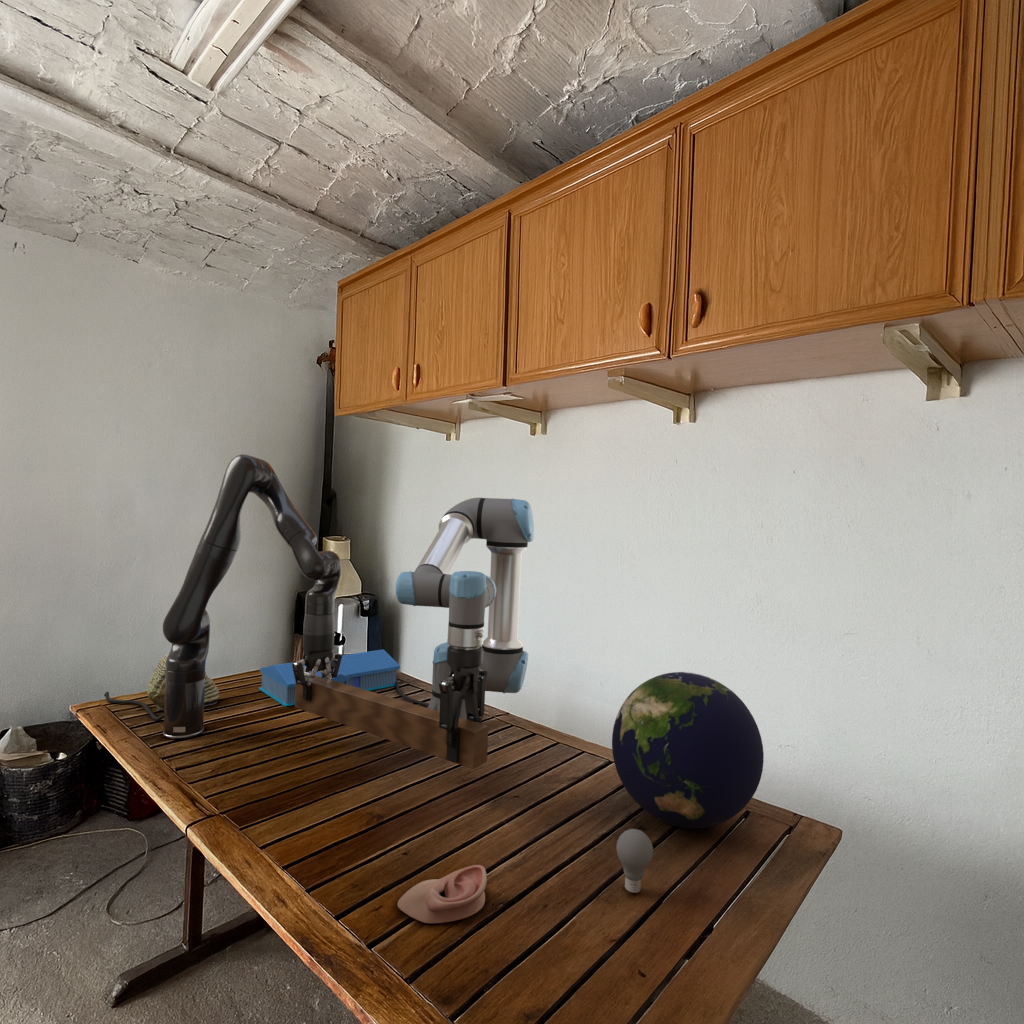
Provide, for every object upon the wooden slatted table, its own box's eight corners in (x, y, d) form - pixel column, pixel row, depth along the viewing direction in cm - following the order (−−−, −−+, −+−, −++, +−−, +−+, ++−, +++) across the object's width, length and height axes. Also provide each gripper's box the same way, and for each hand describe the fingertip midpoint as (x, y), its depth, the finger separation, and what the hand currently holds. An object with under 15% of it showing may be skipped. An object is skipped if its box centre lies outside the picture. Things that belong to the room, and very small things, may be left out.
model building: (289, 709, 186) (291, 675, 185) (258, 688, 204) (259, 657, 204) (403, 687, 212) (405, 657, 212) (366, 670, 230) (368, 643, 230)
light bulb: (610, 879, 108) (613, 822, 108) (644, 879, 109) (647, 822, 109) (619, 902, 102) (622, 840, 102) (655, 901, 103) (658, 840, 103)
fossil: (144, 707, 182) (145, 655, 182) (212, 696, 194) (213, 647, 194) (151, 716, 175) (153, 662, 175) (221, 703, 188) (223, 653, 188)
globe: (592, 836, 122) (599, 682, 122) (625, 776, 150) (631, 650, 149) (758, 877, 111) (767, 707, 110) (760, 804, 139) (767, 668, 138)
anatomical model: (390, 891, 96) (416, 850, 108) (389, 917, 96) (415, 874, 108) (474, 906, 94) (492, 863, 105) (473, 932, 94) (491, 887, 105)
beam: (294, 707, 160) (295, 677, 160) (309, 703, 164) (310, 673, 164) (473, 769, 128) (474, 732, 128) (487, 762, 132) (488, 725, 132)
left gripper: (304, 637, 151) (301, 708, 151) (351, 628, 163) (348, 694, 163) (285, 632, 155) (282, 701, 156) (331, 624, 167) (329, 688, 167)
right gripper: (451, 656, 123) (446, 775, 123) (504, 641, 138) (499, 748, 138) (423, 650, 127) (418, 764, 128) (477, 636, 142) (472, 739, 142)
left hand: (316, 697), depth 159 cm, fingers closed on beam, 4 cm apart
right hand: (460, 756), depth 133 cm, fingers closed on beam, 5 cm apart
